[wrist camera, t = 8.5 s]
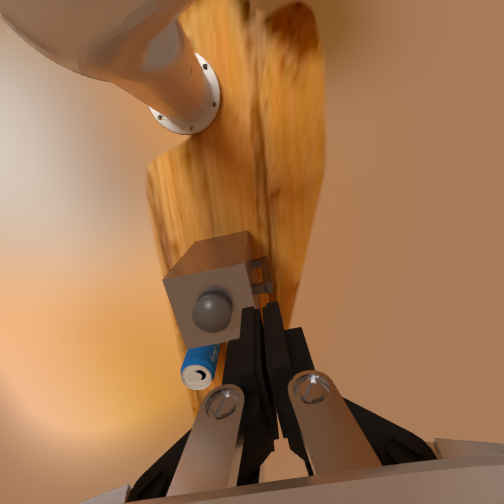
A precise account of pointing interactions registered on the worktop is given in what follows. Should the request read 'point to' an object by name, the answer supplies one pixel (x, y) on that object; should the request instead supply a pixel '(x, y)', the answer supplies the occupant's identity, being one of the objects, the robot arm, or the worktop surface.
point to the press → (216, 284)
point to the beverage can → (200, 366)
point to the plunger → (212, 313)
